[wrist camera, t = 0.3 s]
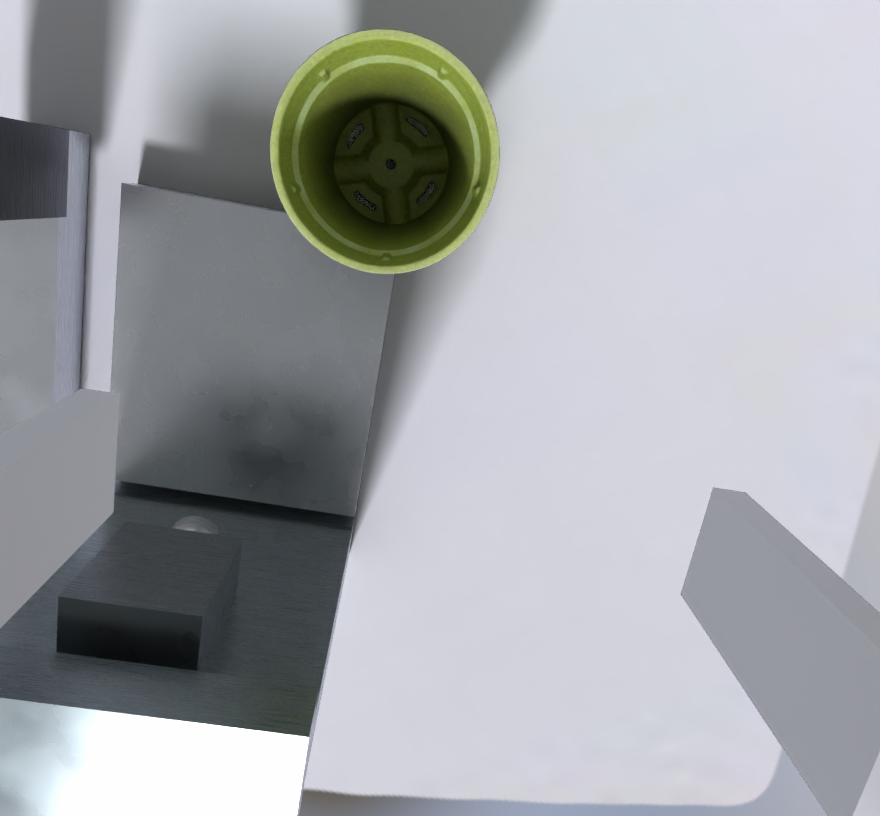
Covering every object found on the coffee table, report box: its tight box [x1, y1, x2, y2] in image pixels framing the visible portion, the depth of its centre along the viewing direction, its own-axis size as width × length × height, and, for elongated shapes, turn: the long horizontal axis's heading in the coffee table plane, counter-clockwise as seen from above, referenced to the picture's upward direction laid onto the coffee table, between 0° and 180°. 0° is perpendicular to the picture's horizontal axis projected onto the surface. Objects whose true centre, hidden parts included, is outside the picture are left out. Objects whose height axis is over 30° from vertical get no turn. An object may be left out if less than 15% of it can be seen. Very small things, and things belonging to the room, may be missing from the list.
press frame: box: [0, 130, 395, 816], centre depth 30 cm, size 23×20×20 cm
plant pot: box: [270, 29, 500, 274], centre depth 33 cm, size 9×9×9 cm
